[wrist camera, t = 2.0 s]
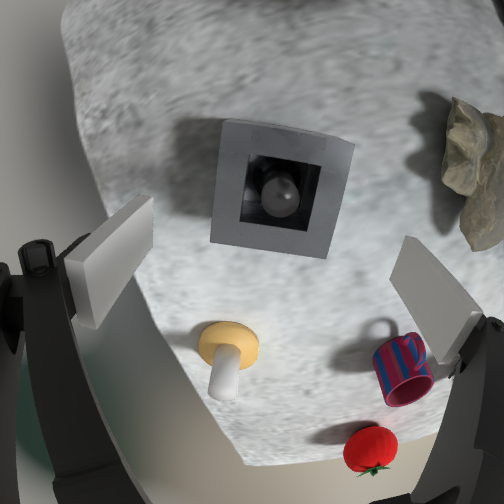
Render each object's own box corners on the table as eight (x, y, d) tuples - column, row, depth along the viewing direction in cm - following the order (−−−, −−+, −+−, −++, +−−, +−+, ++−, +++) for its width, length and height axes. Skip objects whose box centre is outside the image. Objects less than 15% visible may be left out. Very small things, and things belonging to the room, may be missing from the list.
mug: (366, 371, 36) (377, 410, 30) (388, 316, 31) (408, 358, 25) (406, 367, 36) (420, 403, 30) (432, 314, 31) (454, 351, 25)
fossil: (473, 122, 23) (430, 91, 19) (550, 135, 14) (531, 97, 10) (457, 240, 28) (411, 241, 24) (529, 272, 19) (506, 286, 15)
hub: (201, 317, 32) (187, 367, 25) (263, 326, 32) (262, 378, 26) (199, 357, 35) (189, 405, 29) (254, 365, 35) (251, 413, 29)
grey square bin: (231, 118, 22) (222, 120, 18) (337, 137, 23) (354, 144, 18) (219, 218, 26) (209, 242, 22) (316, 232, 27) (326, 259, 22)
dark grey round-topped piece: (256, 151, 23) (254, 165, 18) (303, 159, 24) (316, 175, 18) (250, 196, 25) (246, 223, 20) (295, 202, 25) (303, 231, 20)
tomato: (394, 429, 46) (404, 469, 37) (346, 445, 48) (352, 486, 39) (389, 410, 42) (401, 457, 33) (334, 429, 44) (340, 476, 35)
